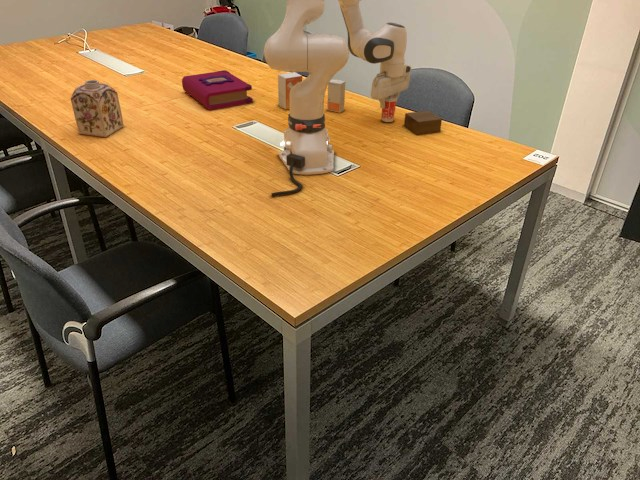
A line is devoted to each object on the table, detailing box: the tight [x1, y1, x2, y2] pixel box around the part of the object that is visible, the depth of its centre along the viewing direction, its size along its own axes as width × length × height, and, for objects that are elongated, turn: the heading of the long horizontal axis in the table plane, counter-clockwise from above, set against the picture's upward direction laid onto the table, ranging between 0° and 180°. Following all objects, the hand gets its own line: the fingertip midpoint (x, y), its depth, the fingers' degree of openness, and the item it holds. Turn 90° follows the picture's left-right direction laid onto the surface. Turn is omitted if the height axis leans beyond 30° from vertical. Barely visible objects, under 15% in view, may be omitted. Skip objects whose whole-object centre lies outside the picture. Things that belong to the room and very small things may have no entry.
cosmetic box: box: [326, 78, 347, 114], centre depth 213 cm, size 6×4×12 cm
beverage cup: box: [381, 94, 398, 123], centre depth 202 cm, size 6×6×14 cm
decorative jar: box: [70, 79, 125, 138], centre depth 189 cm, size 12×12×18 cm
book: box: [181, 69, 254, 111], centre depth 225 cm, size 21×28×8 cm
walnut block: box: [403, 110, 443, 136], centre depth 199 cm, size 10×10×5 cm
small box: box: [277, 72, 303, 110], centre depth 216 cm, size 8×6×13 cm
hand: (388, 105), depth 203 cm, fingers closed on beverage cup, 6 cm apart
